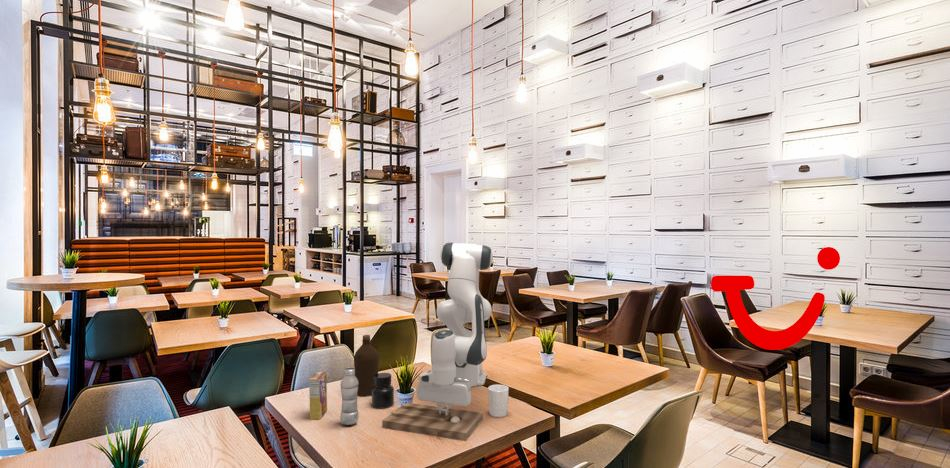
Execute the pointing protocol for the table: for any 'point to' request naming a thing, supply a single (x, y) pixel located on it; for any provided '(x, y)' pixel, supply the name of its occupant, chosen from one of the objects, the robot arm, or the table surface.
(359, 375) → the olive oil
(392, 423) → the board
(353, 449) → the table surface
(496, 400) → the white cup
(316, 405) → the candy box
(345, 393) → the plastic bottle
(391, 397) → the ink bottle
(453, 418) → the ball
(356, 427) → the table surface
